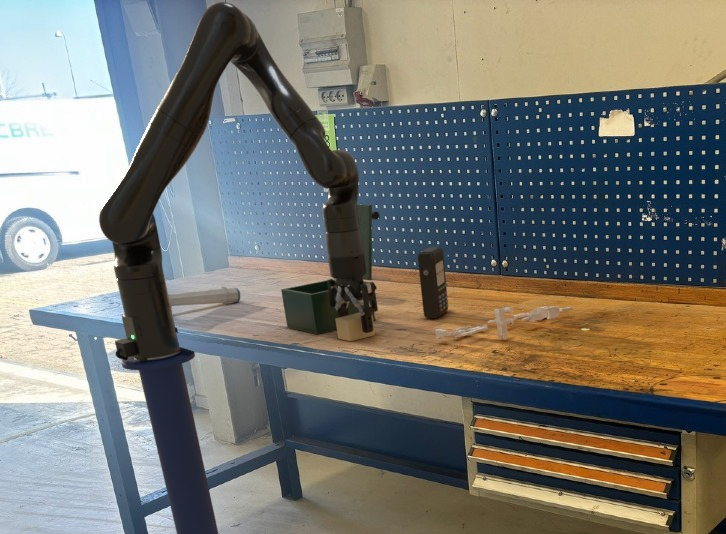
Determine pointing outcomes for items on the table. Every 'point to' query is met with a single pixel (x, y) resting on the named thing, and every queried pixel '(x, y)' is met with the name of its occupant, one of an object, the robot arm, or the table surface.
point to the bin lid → (367, 234)
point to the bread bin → (312, 308)
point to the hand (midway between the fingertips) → (356, 329)
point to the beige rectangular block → (351, 327)
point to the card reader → (433, 282)
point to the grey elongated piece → (505, 321)
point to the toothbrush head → (205, 297)
